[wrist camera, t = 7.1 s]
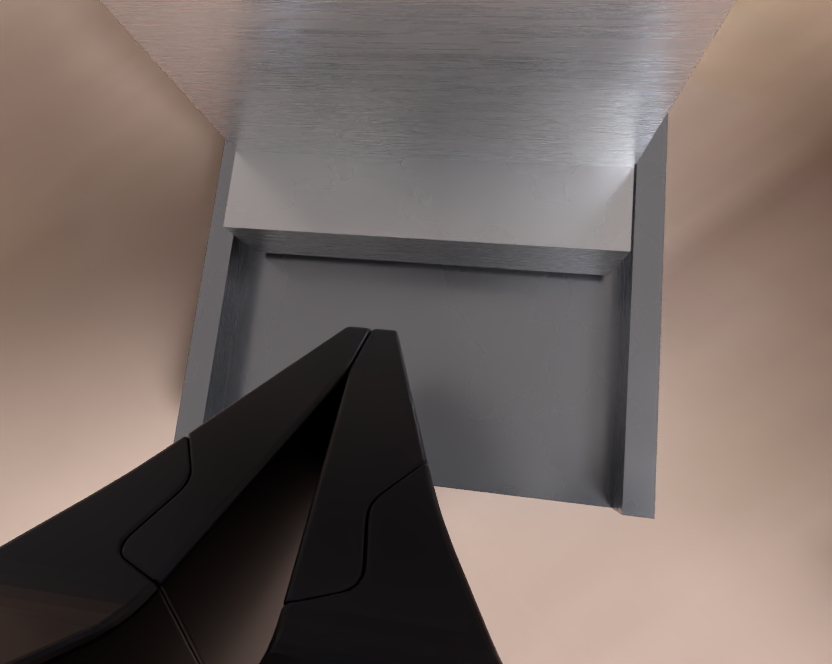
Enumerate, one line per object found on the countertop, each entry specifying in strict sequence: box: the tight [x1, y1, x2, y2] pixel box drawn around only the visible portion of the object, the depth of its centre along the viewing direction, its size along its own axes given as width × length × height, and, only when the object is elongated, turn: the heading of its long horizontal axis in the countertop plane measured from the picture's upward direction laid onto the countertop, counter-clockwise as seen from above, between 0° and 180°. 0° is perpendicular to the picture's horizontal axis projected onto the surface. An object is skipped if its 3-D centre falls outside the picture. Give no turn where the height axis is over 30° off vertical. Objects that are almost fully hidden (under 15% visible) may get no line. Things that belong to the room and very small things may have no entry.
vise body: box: [174, 112, 668, 519], centre depth 12 cm, size 18×12×8 cm
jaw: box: [99, 0, 736, 276], centre depth 10 cm, size 4×10×8 cm, turn 84°
